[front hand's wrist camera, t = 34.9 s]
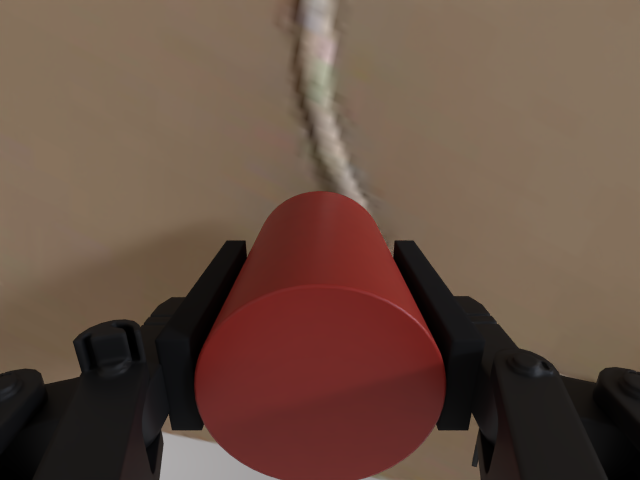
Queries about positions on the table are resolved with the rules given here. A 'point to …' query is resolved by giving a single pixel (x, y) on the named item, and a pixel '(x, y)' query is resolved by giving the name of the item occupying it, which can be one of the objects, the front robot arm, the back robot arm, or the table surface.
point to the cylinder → (320, 351)
